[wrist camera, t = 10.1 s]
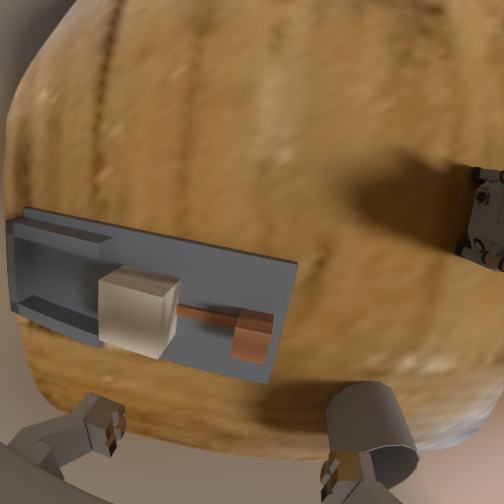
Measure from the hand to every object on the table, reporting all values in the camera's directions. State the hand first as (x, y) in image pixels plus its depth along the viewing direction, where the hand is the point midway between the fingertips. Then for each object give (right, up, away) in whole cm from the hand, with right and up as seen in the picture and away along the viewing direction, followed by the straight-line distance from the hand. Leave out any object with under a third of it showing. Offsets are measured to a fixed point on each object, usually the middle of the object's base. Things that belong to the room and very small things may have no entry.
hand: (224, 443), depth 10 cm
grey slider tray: (-11, +3, +21) cm, 24 cm away
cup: (+14, -11, +22) cm, 28 cm away
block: (-5, +2, +19) cm, 20 cm away
